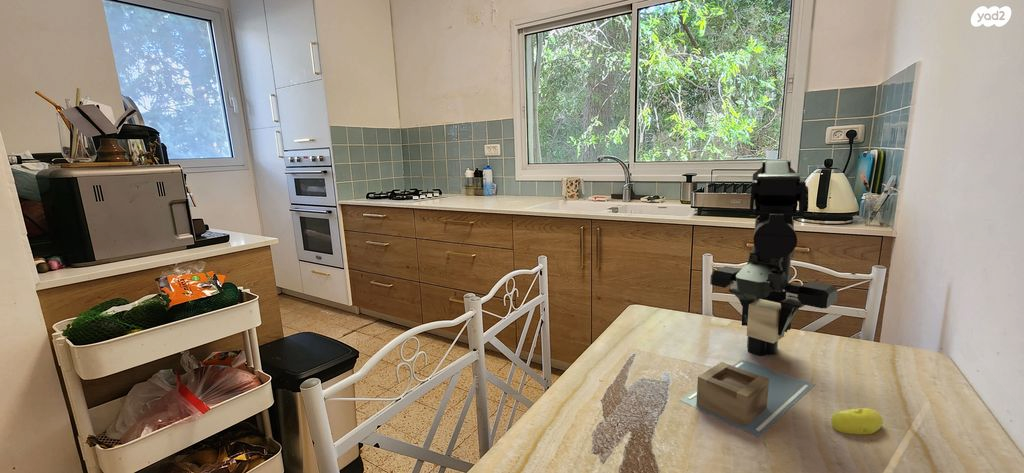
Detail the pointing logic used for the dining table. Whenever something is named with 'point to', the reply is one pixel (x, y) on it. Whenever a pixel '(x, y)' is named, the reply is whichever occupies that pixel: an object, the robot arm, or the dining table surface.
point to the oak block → (764, 320)
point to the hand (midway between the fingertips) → (765, 330)
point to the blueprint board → (780, 399)
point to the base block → (732, 393)
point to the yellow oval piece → (857, 421)
